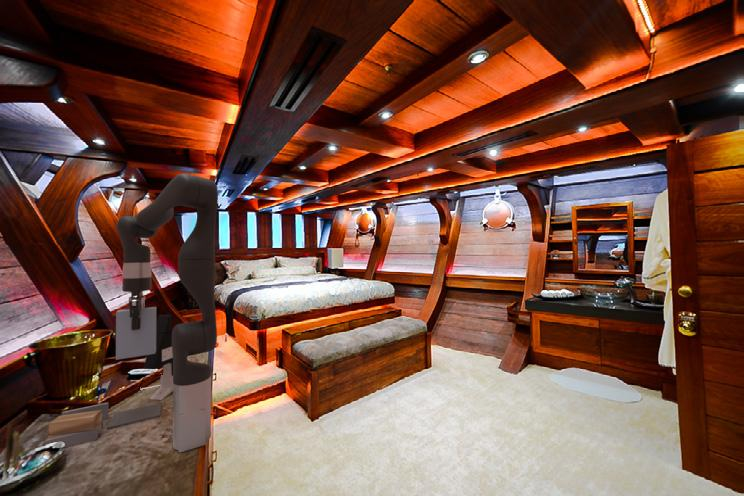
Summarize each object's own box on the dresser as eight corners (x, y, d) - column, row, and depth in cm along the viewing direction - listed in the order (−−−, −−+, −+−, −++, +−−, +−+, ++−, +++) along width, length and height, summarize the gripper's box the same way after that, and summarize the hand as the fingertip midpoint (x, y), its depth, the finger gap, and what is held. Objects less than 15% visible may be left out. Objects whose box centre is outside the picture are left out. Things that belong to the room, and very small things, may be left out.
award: (154, 403, 105) (154, 318, 106) (142, 402, 106) (142, 318, 107) (188, 385, 120) (189, 311, 121) (178, 384, 121) (178, 310, 122)
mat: (159, 416, 96) (159, 415, 96) (106, 429, 89) (106, 427, 89) (161, 404, 104) (162, 402, 104) (113, 415, 98) (113, 413, 98)
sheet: (155, 353, 98) (155, 308, 99) (115, 359, 93) (116, 311, 93) (156, 350, 102) (156, 306, 102) (118, 356, 96) (118, 310, 97)
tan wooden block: (97, 439, 85) (97, 421, 85) (44, 452, 79) (44, 433, 79) (108, 417, 96) (108, 402, 96) (62, 428, 90) (62, 411, 90)
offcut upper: (93, 429, 84) (93, 416, 84) (48, 436, 81) (48, 423, 81) (101, 421, 88) (101, 409, 88) (59, 428, 85) (59, 415, 85)
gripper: (148, 276, 94) (148, 331, 93) (153, 275, 106) (153, 323, 105) (118, 278, 90) (117, 334, 89) (126, 276, 102) (126, 326, 102)
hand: (137, 328), depth 97 cm, fingers closed on sheet, 4 cm apart
